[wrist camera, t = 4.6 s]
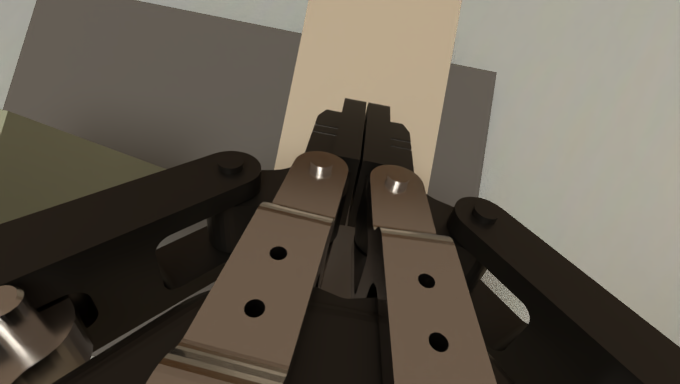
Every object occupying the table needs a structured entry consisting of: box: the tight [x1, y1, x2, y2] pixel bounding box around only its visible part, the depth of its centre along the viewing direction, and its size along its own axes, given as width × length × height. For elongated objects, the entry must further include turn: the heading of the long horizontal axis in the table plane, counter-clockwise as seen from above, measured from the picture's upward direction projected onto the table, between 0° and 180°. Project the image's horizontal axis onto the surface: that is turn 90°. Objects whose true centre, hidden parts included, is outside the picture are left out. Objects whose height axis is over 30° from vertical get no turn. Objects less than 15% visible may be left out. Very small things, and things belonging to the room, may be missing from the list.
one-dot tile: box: [0, 109, 166, 224], centre depth 11 cm, size 6×3×9 cm, turn 79°
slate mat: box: [3, 0, 497, 356], centre depth 16 cm, size 22×16×1 cm
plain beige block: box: [274, 0, 462, 194], centre depth 15 cm, size 6×3×9 cm
